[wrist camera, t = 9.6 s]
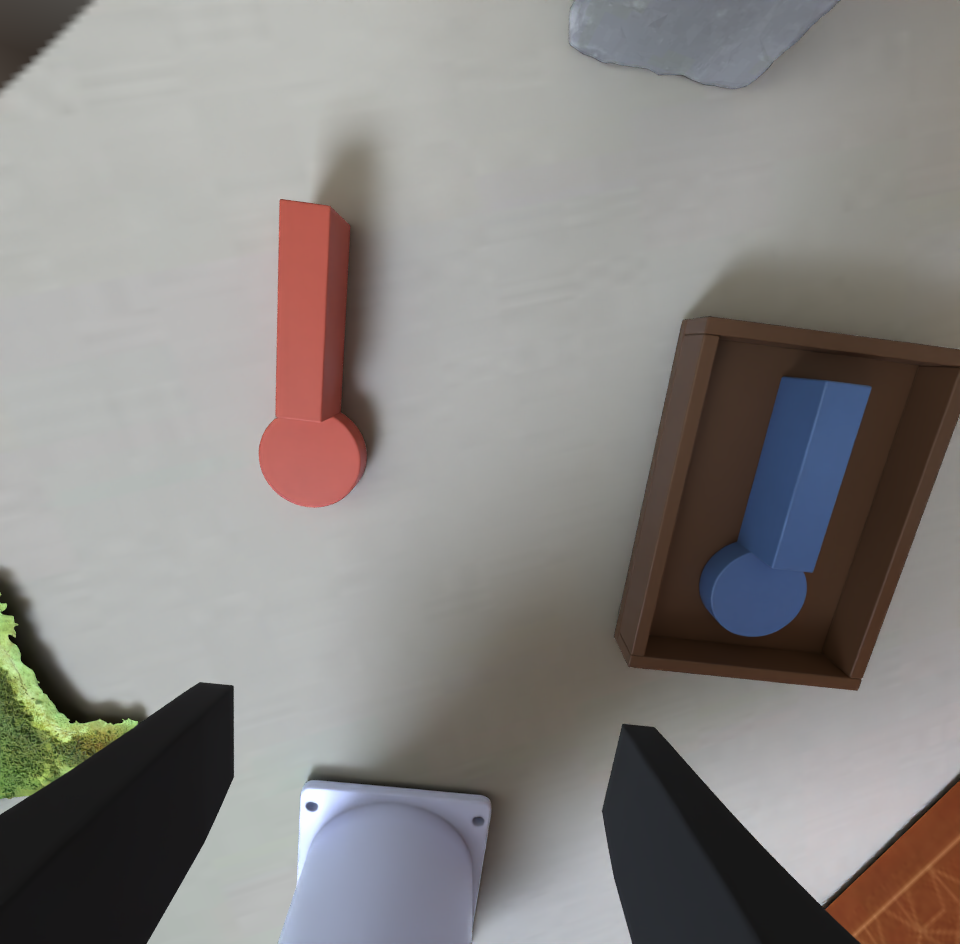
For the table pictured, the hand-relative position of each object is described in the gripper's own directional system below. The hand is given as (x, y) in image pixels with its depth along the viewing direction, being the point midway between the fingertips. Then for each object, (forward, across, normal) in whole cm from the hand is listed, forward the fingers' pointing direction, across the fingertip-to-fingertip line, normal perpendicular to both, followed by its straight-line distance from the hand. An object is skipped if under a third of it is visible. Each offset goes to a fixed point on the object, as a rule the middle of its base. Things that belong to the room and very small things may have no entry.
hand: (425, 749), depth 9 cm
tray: (+9, -11, -3) cm, 15 cm away
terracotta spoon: (+9, +5, -6) cm, 12 cm away
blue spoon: (+9, -11, -3) cm, 15 cm away
